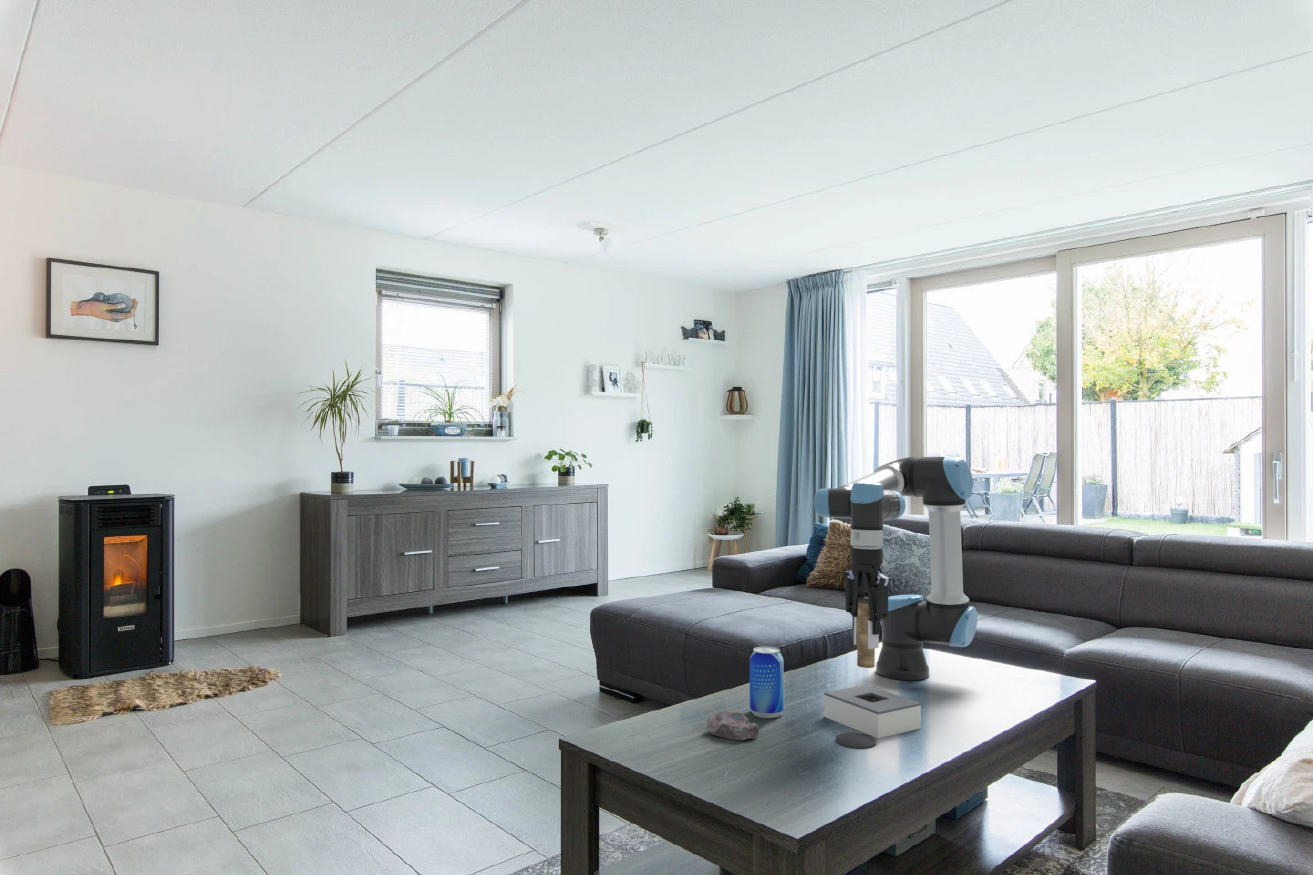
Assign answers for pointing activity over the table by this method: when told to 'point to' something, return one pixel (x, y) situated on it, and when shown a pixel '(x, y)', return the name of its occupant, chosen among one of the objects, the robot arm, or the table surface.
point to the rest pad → (856, 740)
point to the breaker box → (872, 710)
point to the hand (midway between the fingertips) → (866, 645)
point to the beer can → (766, 682)
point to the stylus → (864, 636)
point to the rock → (732, 726)
